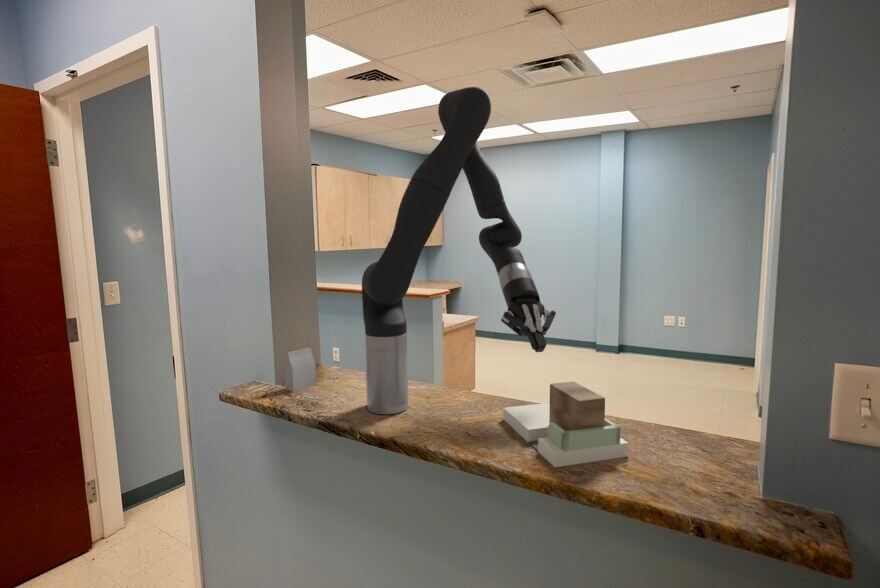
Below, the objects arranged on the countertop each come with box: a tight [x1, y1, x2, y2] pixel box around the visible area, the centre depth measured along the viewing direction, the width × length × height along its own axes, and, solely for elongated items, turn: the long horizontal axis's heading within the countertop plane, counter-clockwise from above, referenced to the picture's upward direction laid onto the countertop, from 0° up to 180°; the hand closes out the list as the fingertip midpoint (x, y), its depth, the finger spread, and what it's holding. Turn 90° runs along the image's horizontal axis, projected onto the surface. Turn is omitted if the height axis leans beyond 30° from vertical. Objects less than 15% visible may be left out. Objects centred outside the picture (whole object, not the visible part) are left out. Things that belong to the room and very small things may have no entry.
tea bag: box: [284, 347, 317, 393], centre depth 121 cm, size 4×7×10 cm, turn 139°
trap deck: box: [502, 402, 630, 468], centre depth 89 cm, size 22×14×6 cm, turn 15°
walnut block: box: [549, 381, 606, 431], centre depth 84 cm, size 10×5×8 cm, turn 15°
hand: (540, 350), depth 97 cm, fingers closed
